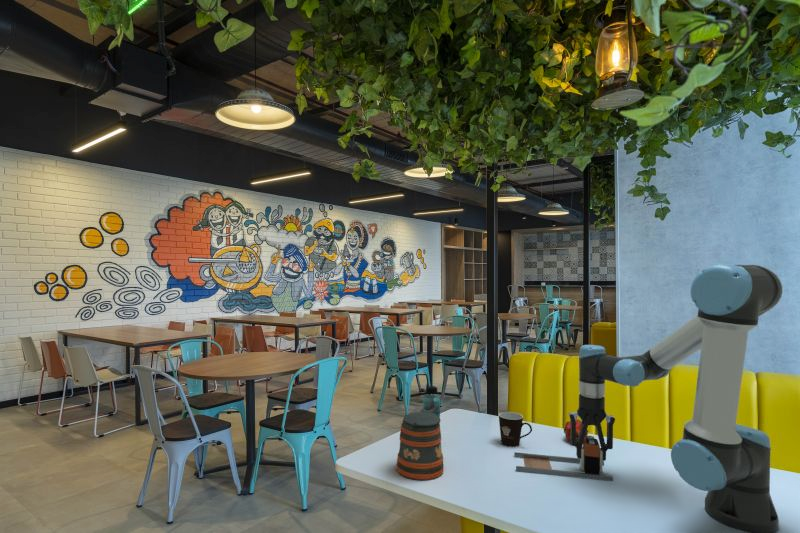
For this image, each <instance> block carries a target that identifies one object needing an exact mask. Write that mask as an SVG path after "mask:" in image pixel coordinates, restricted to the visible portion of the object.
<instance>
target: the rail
mask: <svg viewBox="0 0 800 533" xmlns="http://www.w3.org/2000/svg"><path fill="white" fill-rule="evenodd" d="M513 453H514V454H513V455H514V458H519V457H520V459H522V458H523V462H524V466H520V465H516V466H515V471H516V472H520V473H530V474H540V475H541V474H542V475H549V476H550V475H551V476H559V477H560V476H562V477H570V478H579V477H580V478H581V479H588V478H589V479H591V480H601V481H609V482H613V481H614V476H613V475H611V474H601V473H600V474H592V473H585V472H582V471H581V472H580V471H570V470H561V469H552V465H551V462H562V463H571V464H580V458H578V457H568V456H557V455H547V454H537V453H528V452H527V453H524V452H513ZM550 461H551V462H550ZM603 466H605V461H603V465H602V467H603Z"/></svg>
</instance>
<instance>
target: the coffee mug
mask: <svg viewBox="0 0 800 533" xmlns="http://www.w3.org/2000/svg"><path fill="white" fill-rule="evenodd" d="M523 420H524V416H523V415H522V414H521V413H518V412H515V411H514V412H513V411H503V412H499V413H498V423H499V431H500V442H501V444H502V445H503V446H505V445H506V447H509V446H511V447H512V448H515V447H516V446H517V447H520V444H521V443H520V442H521V439H522V438H525V437H527V436H529V435H530V434H531V433H532V432H533V427H532V425H531V424H530V423H529V422H523ZM524 425H527V426H528V427H529V429H530V430H529V432H528V433H526V434H523V435H521V434H522V427H523V426H524ZM511 447H510V448H511Z"/></svg>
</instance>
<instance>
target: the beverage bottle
mask: <svg viewBox="0 0 800 533" xmlns="http://www.w3.org/2000/svg"><path fill="white" fill-rule="evenodd" d="M425 393H426V394H428V395H425V396H424V397H423V399H422V409H423V408H424V407H425V406H427V402H428V400H429V399H430V398H434V406H439V409H438V410H437V411H436V412H435V415H437V416H438V417H439V418H440V417H441V399H440V397H439V396H438V395H437V394H438V387H437V386H434V385H433V386H432V385H430V386H426V390H425ZM440 419H441V418H440ZM439 424H440V425H441V422H440V423H439Z"/></svg>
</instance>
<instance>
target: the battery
mask: <svg viewBox="0 0 800 533" xmlns="http://www.w3.org/2000/svg"><path fill="white" fill-rule="evenodd" d="M582 446H583V448H584V470H583V473H592V474H601V472H600V448H601V446H600V442H599V439H597V438H595V437H594V436H592V435H587V438H584V441H583V444H582Z"/></svg>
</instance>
